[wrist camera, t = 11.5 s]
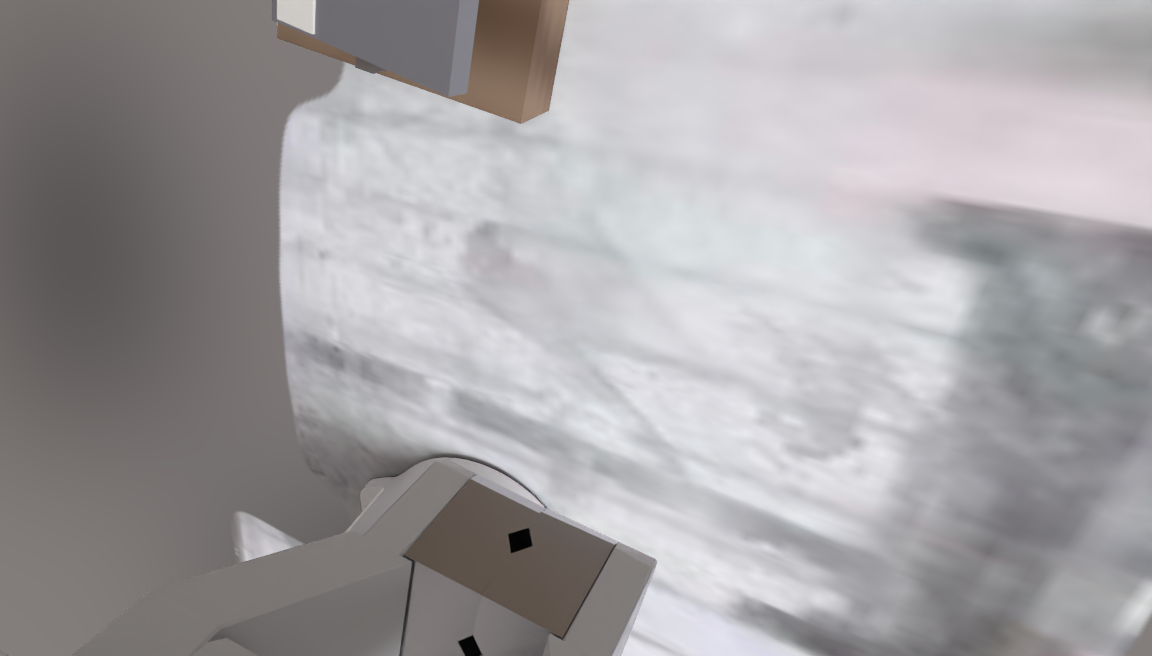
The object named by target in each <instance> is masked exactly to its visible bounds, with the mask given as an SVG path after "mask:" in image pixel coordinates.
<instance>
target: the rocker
mask: <svg viewBox="0 0 1152 656" xmlns="http://www.w3.org/2000/svg"><path fill="white" fill-rule="evenodd" d="M478 5H479V0H272V20H273V21H275V22H278V23H280V24H282V25H285V26H287V27H289V28H291V29H294V30H296V31H298V32H301V33H303V34H305V35H307V36H310V37H312V38H314V39H317V40H319V41H321V42H324V43H326V44H328V45H330V46H333V47H335V48H337V49H340V50H342V51H344V52H346V53H349V54H351V55H353V56H356V57H358V58H360V59H362V60H365V61H367V62H369V63H372V64H374V65H376V66H379V67H381V68H383V69H385V70H388V71H390V72H392V73H395V74H397V75H399V76H401V77H404V78H406V79H408V80H411V81H413V82H415V83H417V84H420V85H422V86H424V87H427V88H429V89H431V90H434V91H436V92H438V93H440V94H443V95H445V96H447V97H451V96H456V95H461V94H466V93H467V90H468V83H469V75H470V67H471V59H472V52H473V44H474V36H475V28H476V21H477V13H478Z"/></svg>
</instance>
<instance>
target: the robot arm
mask: <svg viewBox="0 0 1152 656" xmlns="http://www.w3.org/2000/svg"><path fill="white" fill-rule="evenodd" d="M360 501H361V508H362V513H361V514H360V515H359V516H358V517H357V518H356V520H355V521H354V522H353V523H352V524H351V525H350V527H349V528H348V529H347V530H346V531H345V532H344V533H342V534H339V535H335V536H332V537H328V538H325V539H321V540H318V541H314V542H311V543H307V544H304V545H301V546H297V547H294V548H290V549H287V550H283V551H280V552H276V553H273V554H270V555H266V556H263V557H259V558H256V559H252V560H249V561H245V562H242V563H239V564H235V565H232V566H228V567H225V568H221V569H218V570H215V571H211V572H208V573H204V574H201V575H197V576H194V577H190V578H187V579H184V580H180V581H177V582H174V583H170V584H167V585H163V586H159V587H156V588H153V589H151V590H150V591H149V592H148V593H146V594H145V595H144V596H143V597H141V598H140V599H139V600H138V601H137V602H135V603H134V604H133V605H132V606H131V607H129V608H128V609H127V610H126V611H124V612H123V613H122V614H121V615H119V616H118V617H117V618H116V619H115V620H113V621H112V622H111V623H110V624H109V625H107V626H106V627H105V628H104V629H103V630H101V631H100V632H99V633H98V634H96V635H95V636H94V637H93V638H92V639H90V640H89V641H88V642H87V643H86V644H84V645H83V646H82V647H81V648H80V649H78V650H77V651H76V652H75V653H74V654H72V655H71V656H621V654H622V652H623V650H624V647H625V645H626V642H627V640H628V637H629V635H630V632H631V630H632V627H633V625H634V622H635V620H636V617H637V614H638V612H639V609H640V607H641V604H642V601H643V599H644V596H645V594H646V591H647V588H648V586H649V583H650V581H651V578H652V575H653V573H654V570H655V567H656V564H657V561H656V559H654V558H652V557H650V556H648V555H645V554H643V553H641V552H639V551H637V550H635V549H633V548H631V547H628V546H626V545H624V544H622V543H620V542H618V541H616V540H614V539H612V538H609V537H607V536H605V535H603V534H601V533H599V532H597V531H595V530H592V529H590V528H588V527H586V526H584V525H582V524H580V523H577V522H575V521H573V520H571V519H569V518H567V517H565V516H563V515H560V514H558V513H556V512H554V511H552V510H550V509H548V508H547V509H546V508H545V507H544V506H543V505H542V504H541V503H540V502H539V501H538V500H537V499H536V498H535V497H534V496H533V495H532V494H531V493H529V492H528V491H527V490H526V489H525V488H523V487H522V486H521V485H519V484H518V483H517V482H515V481H514V480H512V479H510V478H509V477H507V476H506V475H504V474H502V473H500V472H498V471H496V470H494V469H492V468H490V467H487V466H485V465H482V464H479V463H476V462H473V461H469V460H465V459H459V458H445V457H444V458H434V459H429V460H425V461H422V462H420V463H418V464H416V465H414V466H412V467H411V468H410V469H408V470H407V471H405V472H404V473H402V474H401V475H399V476H396V477H384V478H376V479H372V480H370V481H369V482H368V483H367V484H366V485H365V487H364V488H363V489H362V490H361V493H360ZM0 656H9V655H8V654H6V653H4V652H3V651H1V650H0Z"/></svg>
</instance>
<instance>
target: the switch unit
mask: <svg viewBox="0 0 1152 656" xmlns="http://www.w3.org/2000/svg"><path fill="white" fill-rule="evenodd" d="M568 4H569V0H479V5H478V13H477V21H476V28H475V36H474V44H473V52H472V59H471V67H470V75H469V83H468V90H467V93H466V94H461V95H456V96H451V97H447V96H445V95H443V94H440V93H438V92H436V91H434V90H431V89H429V88H427V87H424V86H422V85H420V84H417V83H415V82H413V81H411V80H408V79H406V78H404V77H401V76H399V75H397V74H395V73H392V72H390V71H388V70H385V69H383V68H381V67H379V66H376V65H374V64H372V63H369V62H367V61H365V60H362V59H360V58H358V57H356V56H353V55H351V54H349V53H346V52H344V51H342V50H340V49H337V48H335V47H333V46H330V45H328V44H326V43H324V42H321V41H319V40H317V39H314V38H312V37H310V36H307V35H305V34H303V33H301V32H298V31H296V30H294V29H291V28H289V27H287V26H285V25H282V24H280V23H278V22H277V26H278V38H279V39H281V40H284V41H287V42H290V43H293V44H296V45H298V46H301V47H304V48H307V49H310V50H313V51H315V52H319V53H321V54H324V55H327V56H330V57H333V58H336V59H338V60H341V61H344V62H347V63H350V64H352V65H355V67H356V68H358V69H361V70H364V71H367V72H370V73H373V74H374V73H378V74H381V75H384V76H387V77H389V78H392V79H395V80H398V81H401V82H404V83H406V84H409V85H412V86H415V87H418V88H421V89H424V90H426V91H429V92H432V93H435V94H438V95H441V96H443V97H446V98H449V99H452V100H455V101H458V102H461V103H463V104H466V105H469V106H472V107H475V108H478V109H480V110H483V111H486V112H489V113H492V114H495V115H497V116H500V117H503V118H506V119H509V120H512V121H515V122H517V123H520V124H521V123H524V122H526V121H528V120H530V119H532V118H534V117H536V116H538V115H540V114H543V113H545V112H547V111H549V106H550V100H551V95H552V90H553V84H554V79H555V74H556V68H557V63H558V57H559V52H560V47H561V41H562V36H563V31H564V25H565V20H566V14H567V9H568Z"/></svg>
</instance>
